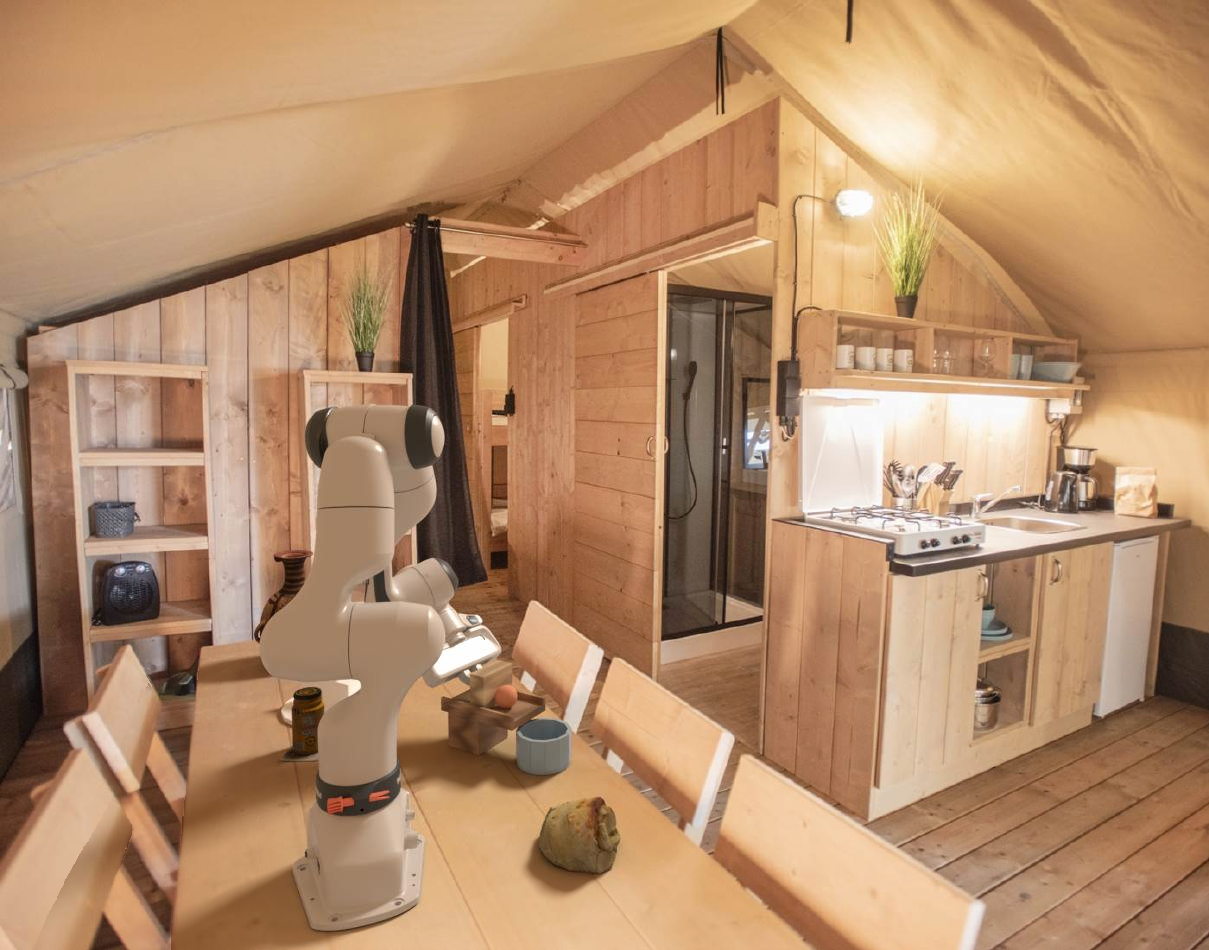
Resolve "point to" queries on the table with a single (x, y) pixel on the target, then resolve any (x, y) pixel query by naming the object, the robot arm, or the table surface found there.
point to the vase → (291, 586)
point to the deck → (486, 720)
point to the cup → (543, 746)
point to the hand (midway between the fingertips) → (481, 688)
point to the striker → (489, 683)
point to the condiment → (305, 724)
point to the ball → (506, 696)
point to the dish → (325, 694)
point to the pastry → (580, 836)
